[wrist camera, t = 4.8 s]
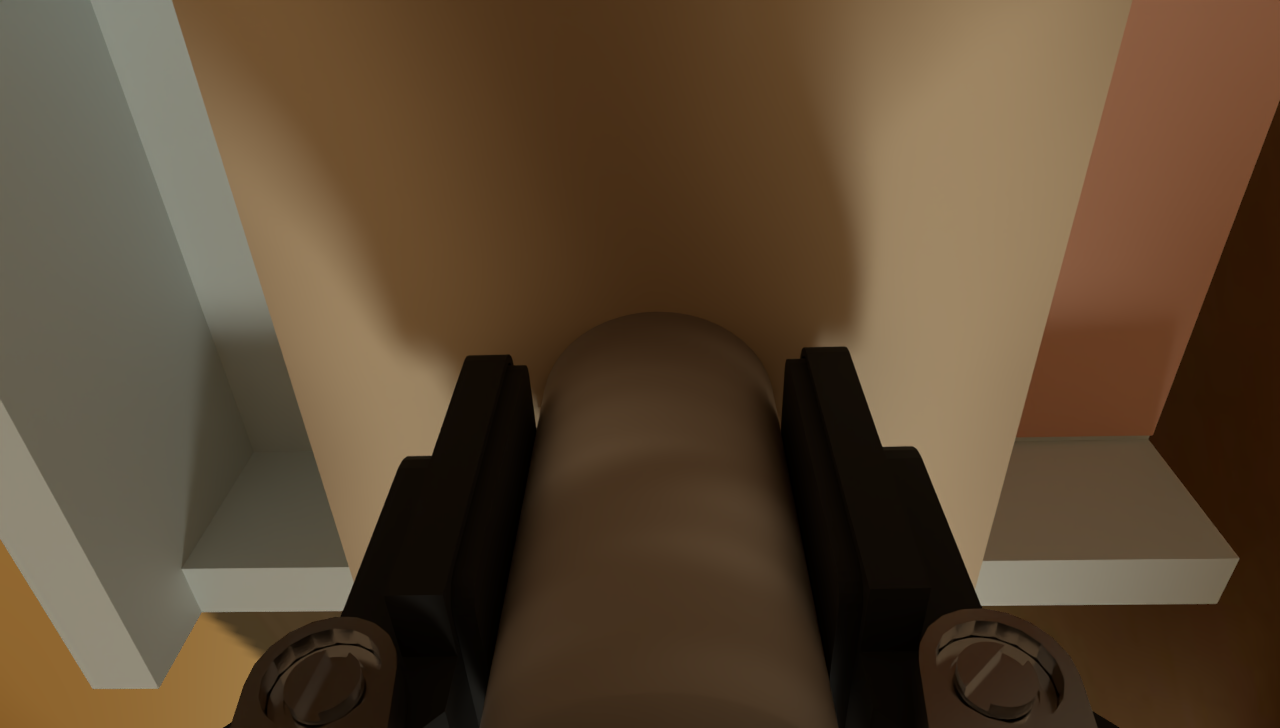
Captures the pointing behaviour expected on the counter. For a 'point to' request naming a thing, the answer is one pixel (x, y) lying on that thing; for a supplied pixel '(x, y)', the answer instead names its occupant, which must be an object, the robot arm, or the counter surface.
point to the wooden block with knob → (657, 285)
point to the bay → (268, 409)
